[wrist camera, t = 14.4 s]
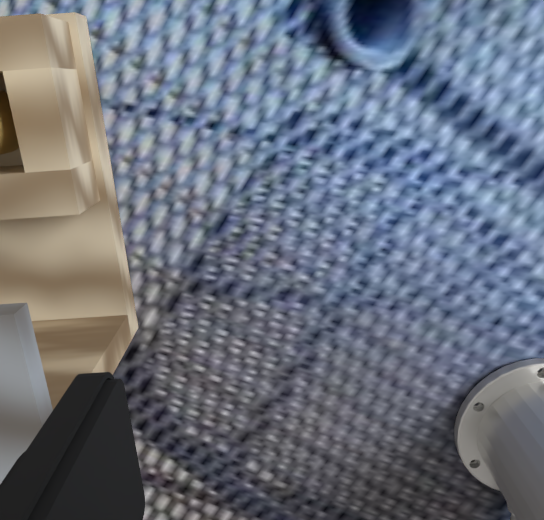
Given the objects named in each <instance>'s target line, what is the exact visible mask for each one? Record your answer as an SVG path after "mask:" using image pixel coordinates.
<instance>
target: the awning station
mask: <svg viewBox="0 0 544 520" xmlns="http://www.w3.org/2000/svg"><path fill="white" fill-rule="evenodd" d="M0 90H1V91H4V92H6V93H7V94H8V98H9V103H10V107H11V112H12V116H13V121H14V125H15V130H16V134H17V139H18V143H19V148H18V149H17V150H15V151H13V152H10V153H6V154H1V155H0V484H1V483H2V481H3V480H4V478H5V477H6V475H7V474H8V472H9V471H10V470H11V468H12V467H13V465H14V464H15V462H16V461H17V459H18V458H19V457H20V456H21V455H22V453H23V452H25V451H26V450H27V448H28V447H29V445H30V444H31V442H32V441H33V439H34V438H35V436H36V435H37V433H38V432H39V430H40V429H41V428H42V426H43V425H44V423H45V422H46V420H47V419H48V417H49V416H50V414H51V413H52V411H53V410H54V408H55V407H56V405H57V404H58V402H59V401H60V399H61V398H62V396H63V395H64V393H65V392H66V390H67V389H68V387H69V386H70V384H71V383H72V381H73V380H74V378H75V377H76V376H77V375H78V374H83V373H99V372H110V373H111V374H112V375H113V373H114V371H115V369H116V368H117V366H118V364H119V362H120V360H121V359H122V357H123V355H124V353H125V351H126V349H127V348H128V346H129V344H130V342H131V340H132V338H133V337H134V335H135V333H136V331H137V329H138V322H137V316H136V310H135V304H134V298H133V292H132V287H131V281H130V275H129V269H128V263H127V257H126V251H125V245H124V239H123V233H122V227H121V221H120V215H119V209H118V203H117V197H116V191H115V185H114V179H113V174H112V168H111V162H110V156H109V150H108V144H107V138H106V132H105V126H104V120H103V114H102V108H101V102H100V96H99V90H98V84H97V78H96V72H95V66H94V60H93V55H92V49H91V43H90V37H89V31H88V25H87V19H86V16H83V15H80V14H78V13H62V14H49V15H44V14H29V15H16V16H3V17H0Z"/></svg>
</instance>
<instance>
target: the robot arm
mask: <svg viewBox="0 0 544 520" xmlns="http://www.w3.org/2000/svg"><path fill="white" fill-rule="evenodd" d="M454 438H455V445H456V448H457V451H458V454H459V456H460V458H461V459H462V462H463V464H464V465H465V467H466V468H467V469H468V471H469V472H470V473H471V475H473V476H474V477H475V478H476V479H477V480H479V481H480V482H481V483H483V484H485V485H487V486H489V487H490V488H493V489H496V490H499V491H501V493H502V494H503V496H504V498H505V500H506V501H507V507H508V510H509V511H510V512H511V517H510V520H544V358H534V359H528V360H523V361H518V362H515V363H513V364H510V365H507V366H504V367H502V368H500V369H498V370H497V371H495V372H493V373H491V374H490V375H488V376H487V377H486V378H484V379H483V380H482V381H480V382H479V383H478V384H477V385H476V386H475V387H474V388H473V389H472V391H471V392H470V393H469V394H468V395H467V397H466V398H465V400H464V401H463V403H462V405H461V407H460V409H459V412H458V414H457V417H456V421H455V427H454ZM144 509H145V496H144V490H143V484H142V479H141V474H140V468H139V463H138V457H137V452H136V447H135V441H134V436H133V430H132V425H131V419H130V414H129V409H128V403H127V398H126V392H125V387H124V383H123V381H122V380H121V379H114V377H113V375H112V374H111V373H110V372H99V373H83V374H78V375H77V376H76V377H75V378H74V380H73V381H72V383H71V384H70V386H69V387H68V389H67V390H66V392H65V393H64V395H63V396H62V398H61V399H60V401H59V402H58V404H57V405H56V407H55V408H54V410H53V411H52V413H51V414H50V416H49V417H48V419H47V420H46V422H45V423H44V425H43V426H42V428H41V429H40V430H39V432H38V433H37V435H36V436H35V438H34V439H33V441H32V442H31V444H30V445H29V447H28V448H27V450H26V451H25V452H23V453H22V455H21V456H20V457H19V458H18V459H17V461H16V462H15V464H14V465H13V467H12V468H11V470H10V471H9V472H8V474H7V475H6V477H5V478H4V480H3V481H2V483H1V484H0V520H142V519H143V515H144Z"/></svg>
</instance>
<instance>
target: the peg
mask: <svg viewBox="0 0 544 520" xmlns="http://www.w3.org/2000/svg"><path fill="white" fill-rule="evenodd" d="M18 148H19V143H18V139H17V134H16V130H15V125H14V121H13V116H12V112H11V107H10V103H9V98H8V94H7V93H6V92H4V91H1V90H0V155H1V154H6V153H10V152H13V151H15V150H17V149H18Z"/></svg>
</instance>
